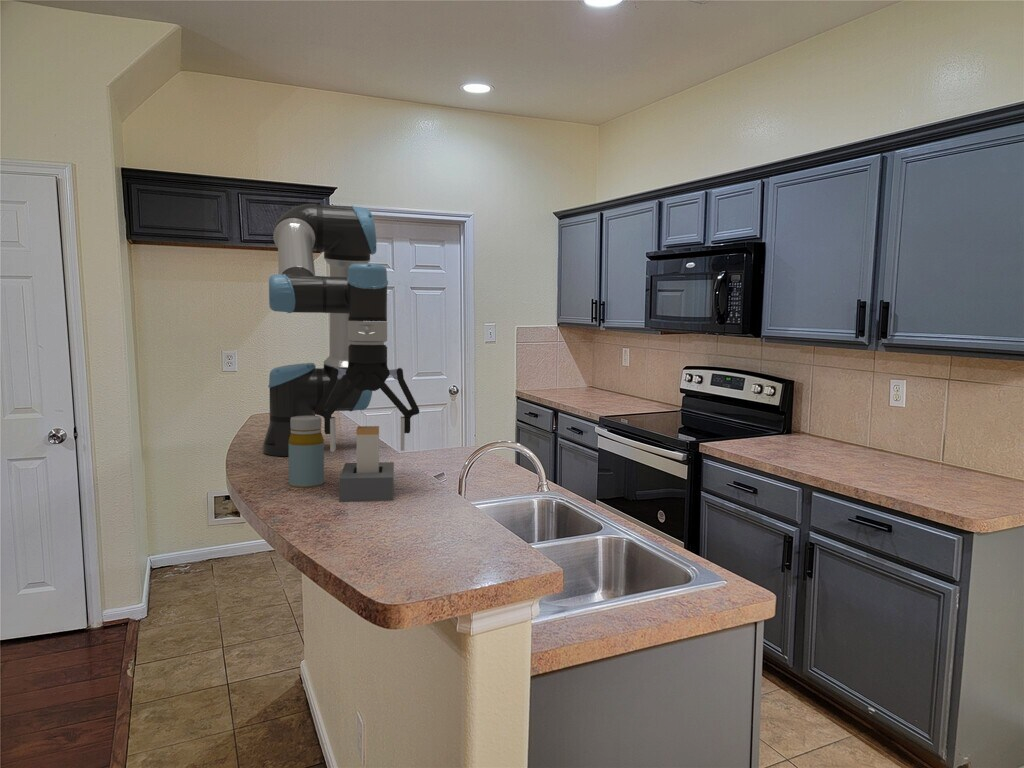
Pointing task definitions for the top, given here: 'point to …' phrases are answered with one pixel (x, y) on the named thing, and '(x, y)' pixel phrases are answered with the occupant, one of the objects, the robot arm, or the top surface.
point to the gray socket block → (366, 484)
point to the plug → (368, 449)
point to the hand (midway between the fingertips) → (368, 450)
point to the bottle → (306, 452)
